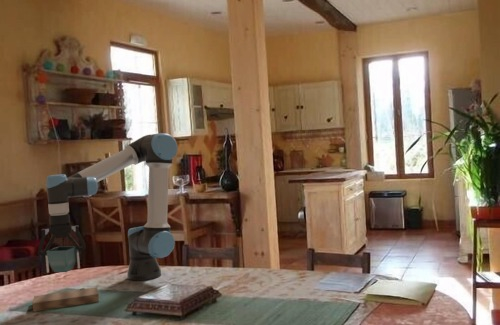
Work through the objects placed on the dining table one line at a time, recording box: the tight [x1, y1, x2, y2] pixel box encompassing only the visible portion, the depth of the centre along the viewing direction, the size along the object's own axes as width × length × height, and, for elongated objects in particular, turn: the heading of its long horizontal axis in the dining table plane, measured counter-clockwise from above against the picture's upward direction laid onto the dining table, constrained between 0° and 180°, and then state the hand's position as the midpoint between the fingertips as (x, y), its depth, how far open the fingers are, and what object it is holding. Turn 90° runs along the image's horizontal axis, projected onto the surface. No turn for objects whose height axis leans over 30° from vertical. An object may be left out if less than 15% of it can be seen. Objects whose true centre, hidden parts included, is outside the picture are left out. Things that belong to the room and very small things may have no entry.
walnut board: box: [32, 287, 100, 312], centre depth 221 cm, size 24×12×3 cm, turn 108°
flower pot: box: [46, 245, 78, 273], centre depth 221 cm, size 9×9×9 cm
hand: (63, 269), depth 221 cm, fingers closed on flower pot, 11 cm apart
